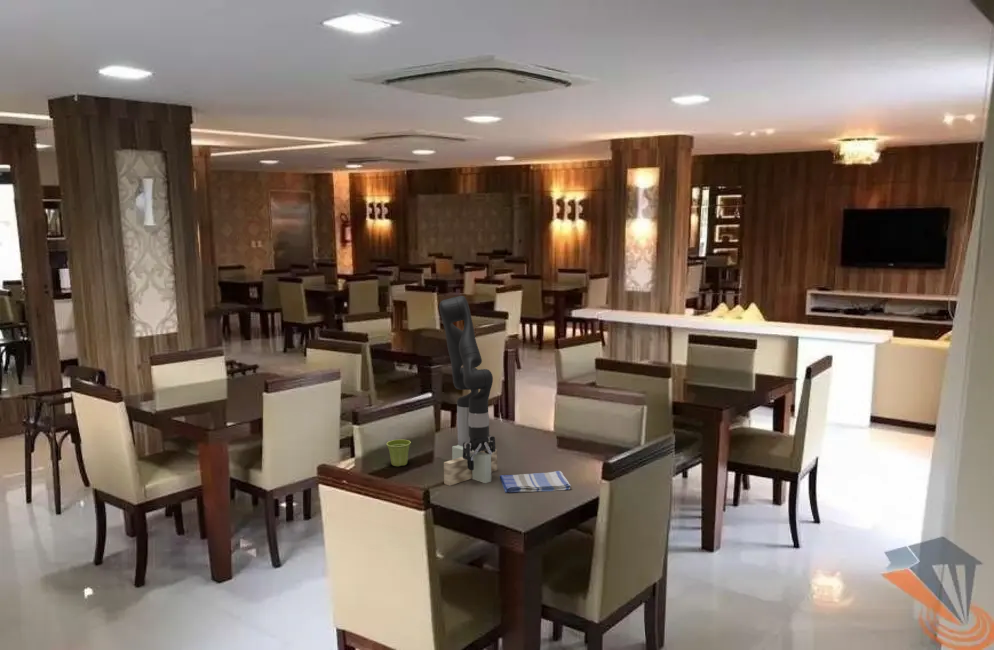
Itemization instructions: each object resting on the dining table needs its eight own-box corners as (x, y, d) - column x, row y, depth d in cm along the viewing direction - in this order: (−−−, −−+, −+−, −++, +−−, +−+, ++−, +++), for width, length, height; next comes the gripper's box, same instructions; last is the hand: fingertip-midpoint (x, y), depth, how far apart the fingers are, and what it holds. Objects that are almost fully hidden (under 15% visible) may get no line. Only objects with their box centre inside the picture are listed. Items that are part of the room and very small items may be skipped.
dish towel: (572, 491, 255) (572, 484, 255) (505, 495, 253) (505, 487, 252) (561, 475, 272) (561, 468, 272) (499, 478, 270) (499, 471, 269)
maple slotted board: (491, 468, 280) (491, 448, 279) (497, 470, 278) (496, 449, 277) (444, 483, 263) (443, 462, 263) (449, 485, 261) (449, 464, 260)
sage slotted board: (458, 470, 278) (458, 445, 277) (491, 481, 265) (490, 454, 264) (452, 472, 276) (452, 446, 275) (485, 483, 263) (484, 456, 262)
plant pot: (404, 468, 281) (404, 446, 280) (383, 466, 284) (382, 445, 283) (415, 461, 290) (414, 440, 289) (394, 459, 293) (393, 438, 292)
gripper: (485, 418, 273) (486, 460, 275) (457, 425, 263) (458, 469, 265) (500, 422, 267) (500, 464, 269) (471, 429, 257) (472, 474, 259)
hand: (479, 467), depth 267 cm, fingers open, 8 cm apart
